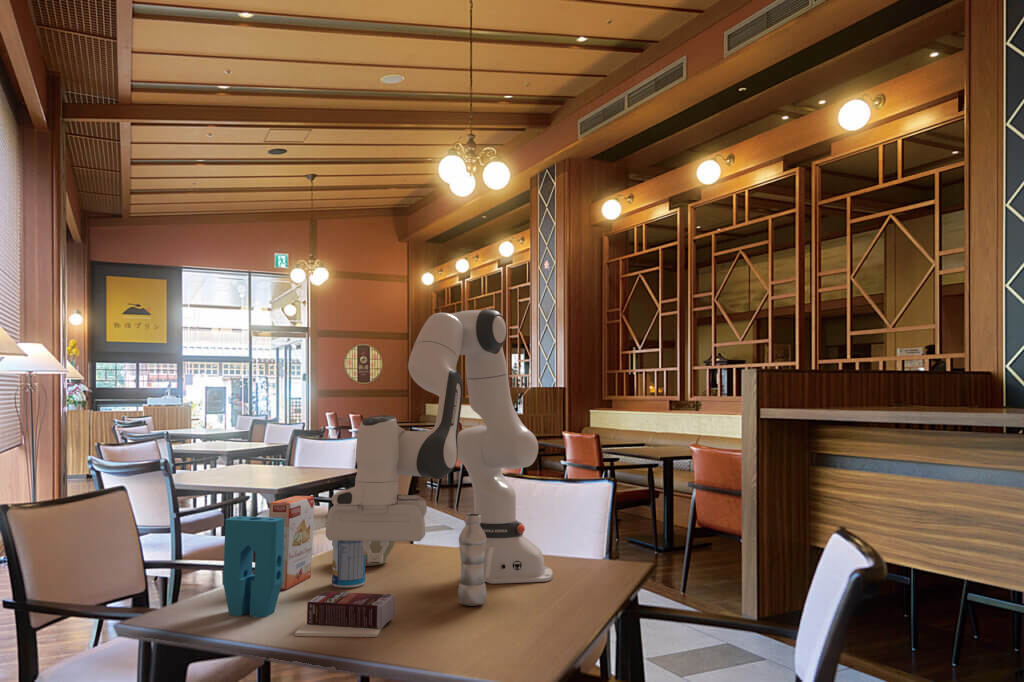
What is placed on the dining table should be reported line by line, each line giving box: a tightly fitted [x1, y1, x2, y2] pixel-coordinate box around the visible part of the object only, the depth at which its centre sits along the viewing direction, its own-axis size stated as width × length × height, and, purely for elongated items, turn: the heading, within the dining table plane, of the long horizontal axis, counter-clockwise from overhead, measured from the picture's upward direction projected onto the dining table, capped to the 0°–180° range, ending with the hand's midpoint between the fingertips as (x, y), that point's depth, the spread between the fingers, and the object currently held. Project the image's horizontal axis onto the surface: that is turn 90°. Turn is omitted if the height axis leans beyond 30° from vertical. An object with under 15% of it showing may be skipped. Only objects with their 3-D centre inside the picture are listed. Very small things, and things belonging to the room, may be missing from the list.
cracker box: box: [268, 495, 315, 591], centre depth 185 cm, size 14×6×21 cm, turn 170°
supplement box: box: [306, 590, 396, 629], centre depth 151 cm, size 9×5×16 cm
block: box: [222, 515, 285, 618], centre depth 159 cm, size 12×5×20 cm, turn 79°
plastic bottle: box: [457, 513, 488, 607], centre depth 166 cm, size 6×7×20 cm
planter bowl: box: [365, 541, 396, 567], centre depth 207 cm, size 16×16×11 cm
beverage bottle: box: [331, 541, 366, 589], centre depth 184 cm, size 8×8×20 cm
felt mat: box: [294, 620, 384, 638], centre depth 150 cm, size 16×14×1 cm
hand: (375, 562), depth 151 cm, fingers closed
